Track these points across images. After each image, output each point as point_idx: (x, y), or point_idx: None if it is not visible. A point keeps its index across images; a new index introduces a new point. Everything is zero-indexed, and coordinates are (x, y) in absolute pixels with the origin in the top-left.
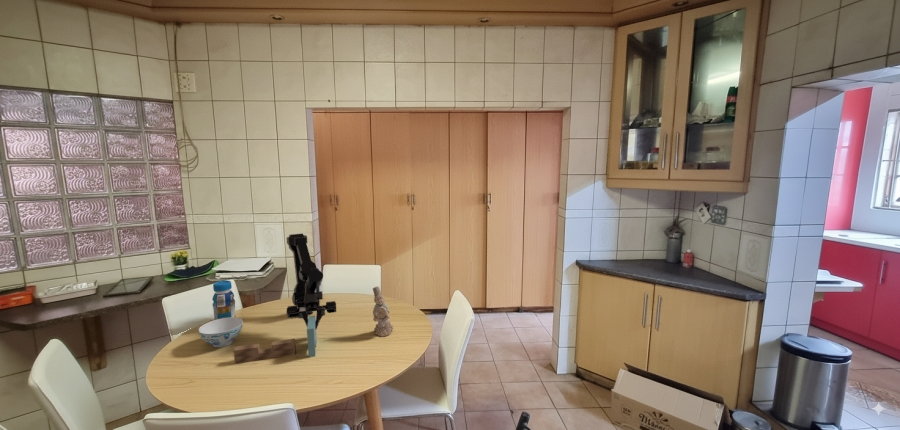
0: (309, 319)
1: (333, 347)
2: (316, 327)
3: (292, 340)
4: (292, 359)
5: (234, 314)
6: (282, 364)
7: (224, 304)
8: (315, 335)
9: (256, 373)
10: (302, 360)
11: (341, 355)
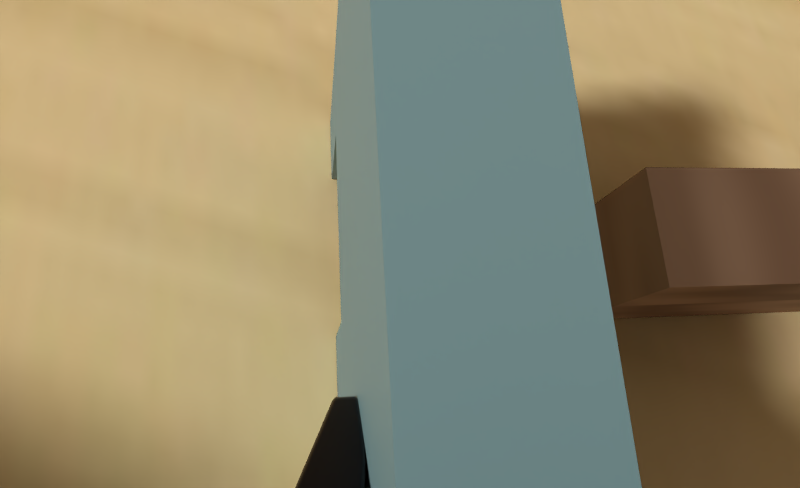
0: (586, 391)
1: (106, 267)
2: (332, 404)
3: (684, 224)
4: None
5: None
6: (626, 77)
7: None
8: (346, 309)
9: (786, 13)
10: None
11: (30, 46)
